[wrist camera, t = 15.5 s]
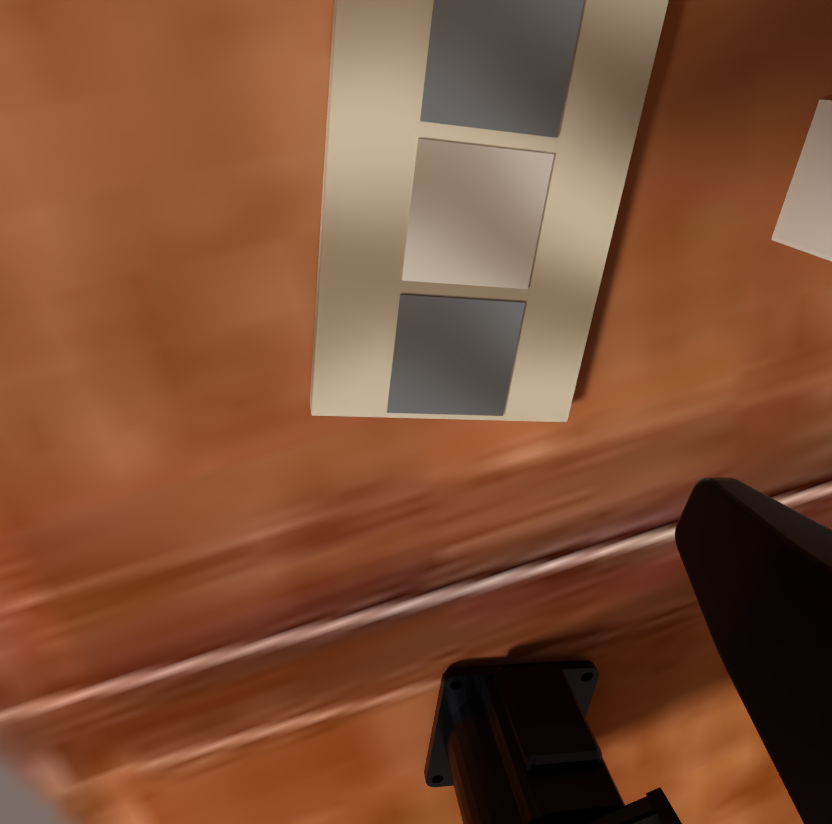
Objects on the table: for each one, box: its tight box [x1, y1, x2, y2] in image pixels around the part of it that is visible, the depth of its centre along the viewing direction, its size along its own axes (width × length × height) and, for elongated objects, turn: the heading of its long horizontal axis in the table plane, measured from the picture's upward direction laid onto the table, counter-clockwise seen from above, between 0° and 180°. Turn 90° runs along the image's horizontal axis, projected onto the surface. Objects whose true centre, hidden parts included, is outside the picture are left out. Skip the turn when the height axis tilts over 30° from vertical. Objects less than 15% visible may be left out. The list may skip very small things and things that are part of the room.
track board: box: [310, 0, 669, 422], centre depth 17 cm, size 20×8×1 cm, turn 173°
